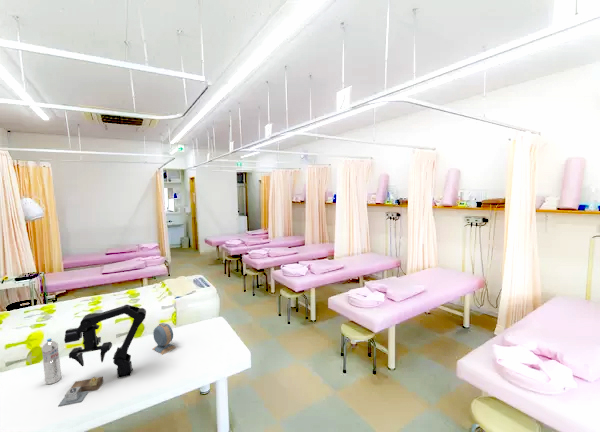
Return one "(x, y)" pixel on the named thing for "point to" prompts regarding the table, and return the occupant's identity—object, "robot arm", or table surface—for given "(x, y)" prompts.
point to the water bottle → (51, 362)
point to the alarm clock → (163, 338)
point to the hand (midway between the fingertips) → (92, 363)
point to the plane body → (87, 384)
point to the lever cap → (73, 394)
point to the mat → (74, 401)
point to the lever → (94, 381)
